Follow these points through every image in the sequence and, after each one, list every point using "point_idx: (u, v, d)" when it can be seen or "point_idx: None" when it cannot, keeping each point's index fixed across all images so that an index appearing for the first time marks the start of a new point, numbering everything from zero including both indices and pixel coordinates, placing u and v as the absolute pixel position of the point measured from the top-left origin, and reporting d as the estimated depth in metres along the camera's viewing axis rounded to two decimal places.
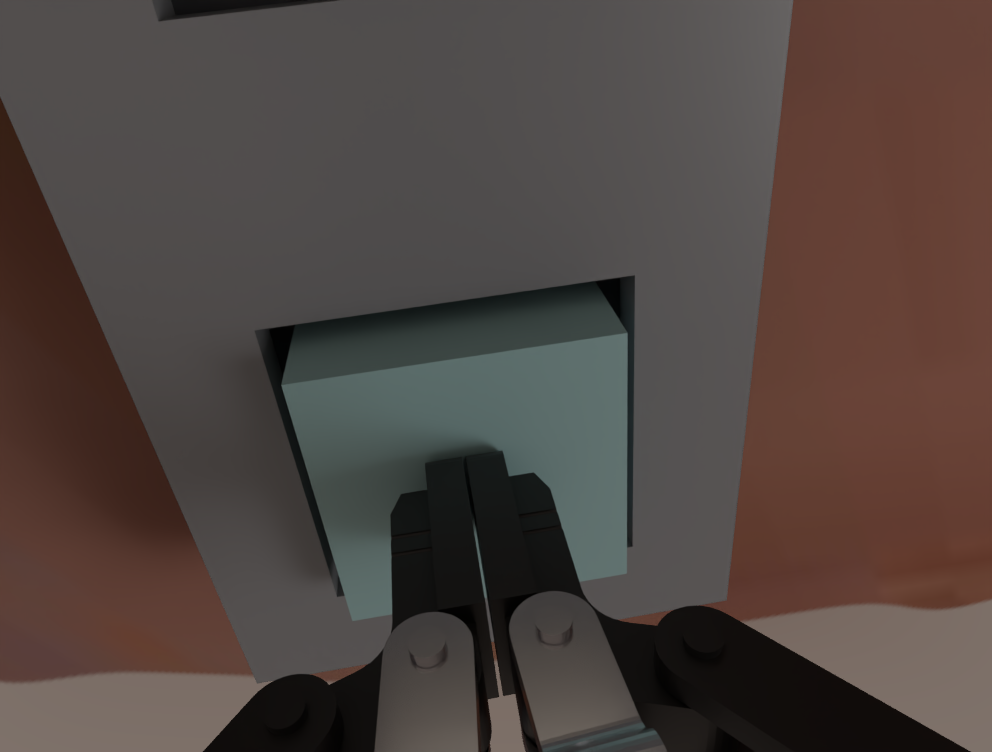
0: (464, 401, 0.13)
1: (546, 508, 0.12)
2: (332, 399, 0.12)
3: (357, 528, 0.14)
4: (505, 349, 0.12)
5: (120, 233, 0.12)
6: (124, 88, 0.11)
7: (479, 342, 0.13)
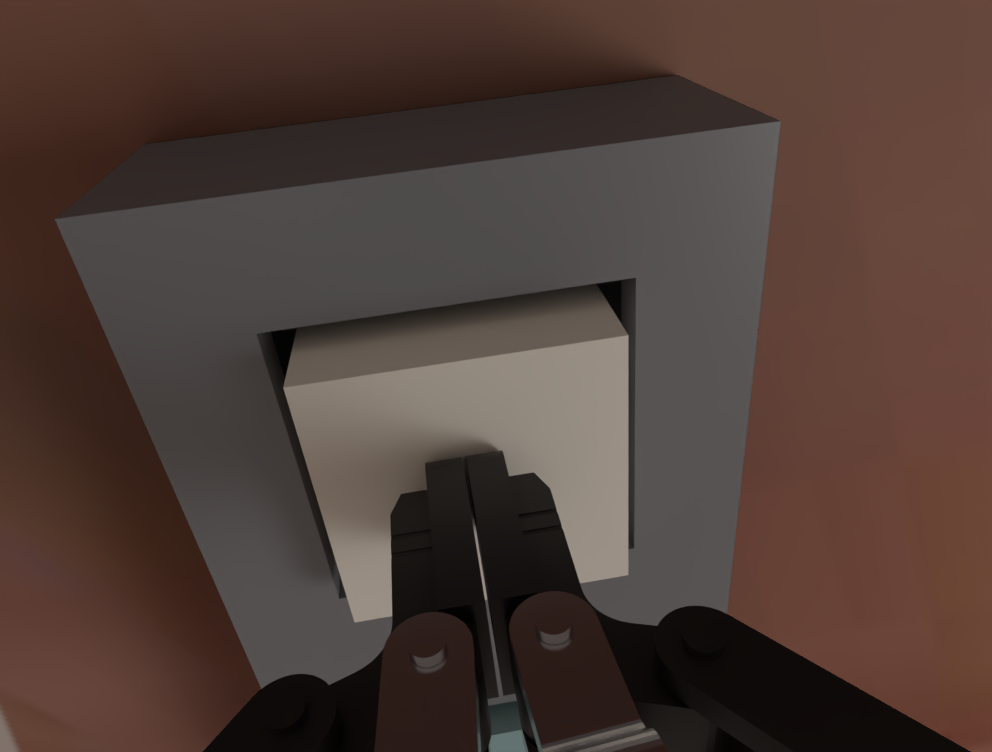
0: (515, 750, 0.20)
1: (546, 508, 0.12)
2: None
3: None
4: None
5: None
6: (314, 627, 0.17)
7: None
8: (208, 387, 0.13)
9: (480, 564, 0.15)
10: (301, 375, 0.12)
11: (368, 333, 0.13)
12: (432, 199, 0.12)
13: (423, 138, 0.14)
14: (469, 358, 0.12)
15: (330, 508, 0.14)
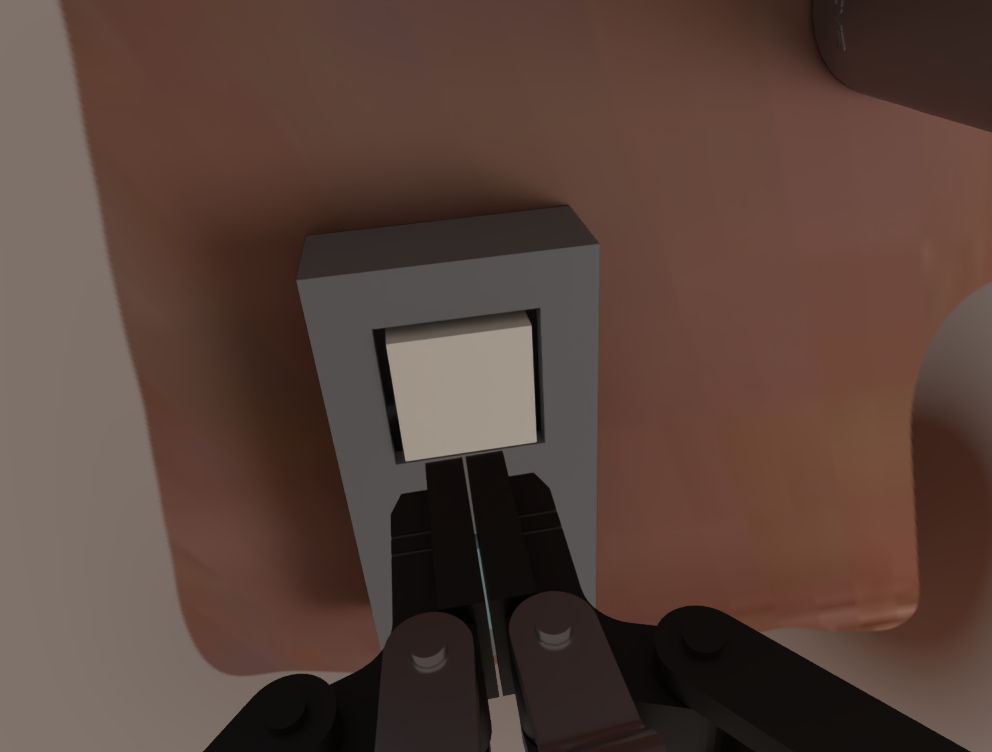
0: None
1: (546, 508, 0.12)
2: None
3: None
4: None
5: (370, 518, 0.34)
6: (381, 481, 0.33)
7: None
8: (347, 353, 0.29)
9: (466, 432, 0.32)
10: (392, 339, 0.29)
11: (418, 323, 0.30)
12: (451, 274, 0.28)
13: (445, 242, 0.30)
14: (464, 333, 0.29)
15: (400, 401, 0.30)
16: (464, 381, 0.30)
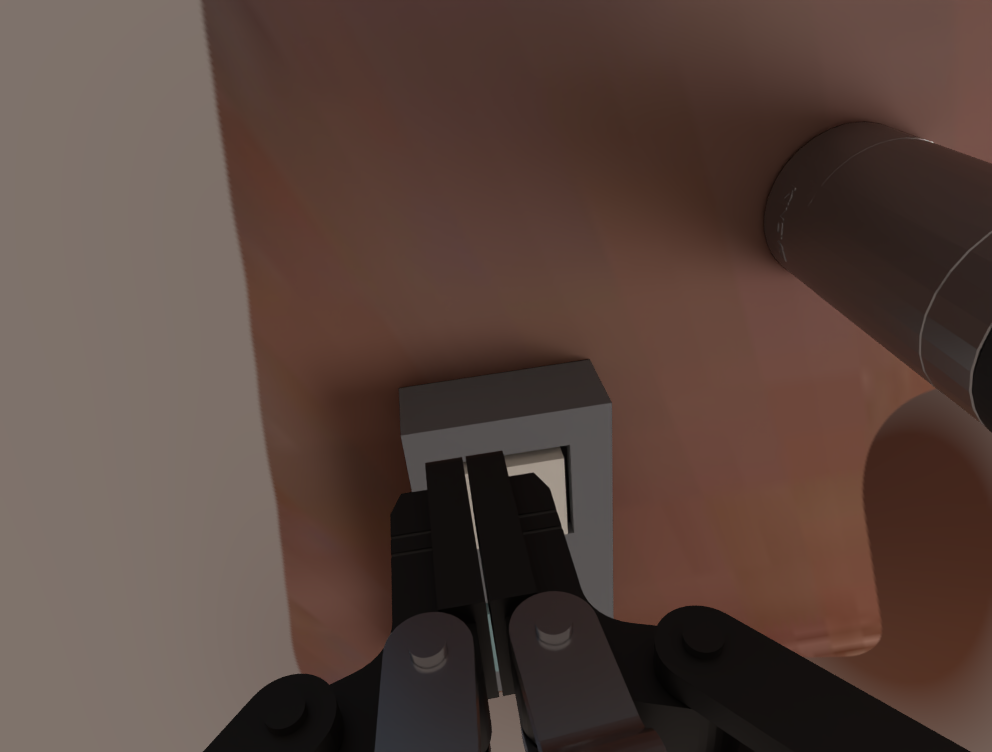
0: None
1: (546, 508, 0.12)
2: None
3: None
4: None
5: None
6: None
7: None
8: None
9: None
10: (465, 470, 0.41)
11: None
12: (507, 426, 0.40)
13: (501, 398, 0.42)
14: (516, 465, 0.41)
15: None
16: None
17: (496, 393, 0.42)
